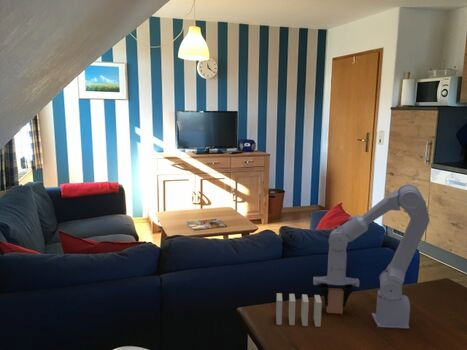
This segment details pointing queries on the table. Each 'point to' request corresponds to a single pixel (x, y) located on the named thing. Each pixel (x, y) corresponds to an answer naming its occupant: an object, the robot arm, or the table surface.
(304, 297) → the ivory domino
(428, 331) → the table surface
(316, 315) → the ivory domino
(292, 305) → the ivory domino
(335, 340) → the table surface
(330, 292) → the terracotta domino
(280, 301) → the ivory domino
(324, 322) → the table surface
